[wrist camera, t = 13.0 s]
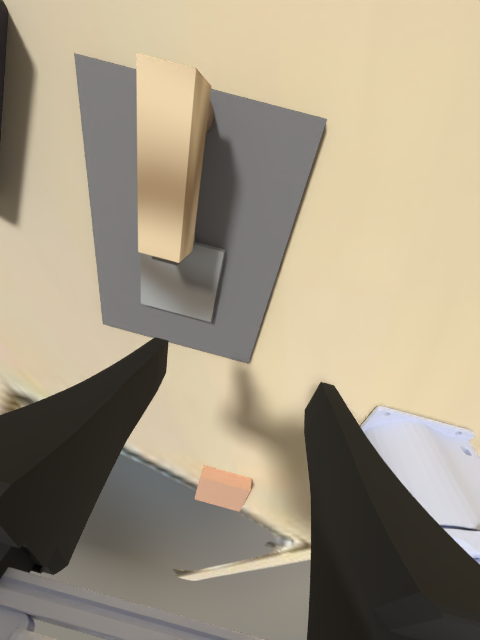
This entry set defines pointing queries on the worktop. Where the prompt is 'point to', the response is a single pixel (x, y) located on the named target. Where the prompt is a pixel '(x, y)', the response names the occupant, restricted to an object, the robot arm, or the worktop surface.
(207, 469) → the tile
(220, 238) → the mat
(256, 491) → the worktop surface
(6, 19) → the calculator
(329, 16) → the worktop surface
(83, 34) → the worktop surface
